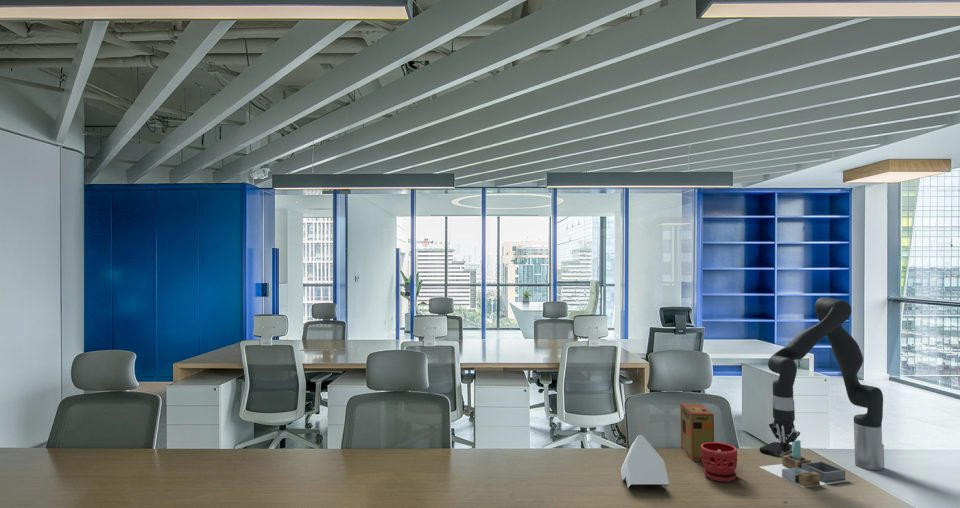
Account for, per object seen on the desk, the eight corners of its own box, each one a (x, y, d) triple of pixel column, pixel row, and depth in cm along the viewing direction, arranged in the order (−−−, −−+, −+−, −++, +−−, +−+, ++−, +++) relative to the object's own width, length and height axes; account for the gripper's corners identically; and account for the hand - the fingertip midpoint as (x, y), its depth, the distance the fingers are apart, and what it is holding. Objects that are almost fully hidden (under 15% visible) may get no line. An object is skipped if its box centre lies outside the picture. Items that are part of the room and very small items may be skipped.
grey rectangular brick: (798, 475, 197) (798, 467, 198) (812, 481, 192) (812, 473, 192) (781, 477, 195) (781, 469, 196) (795, 483, 190) (794, 475, 190)
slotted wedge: (660, 492, 193) (650, 444, 204) (669, 484, 184) (658, 434, 195) (624, 492, 193) (616, 444, 204) (631, 484, 184) (622, 434, 195)
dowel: (796, 466, 207) (795, 438, 207) (802, 468, 204) (802, 441, 204) (790, 466, 206) (790, 439, 206) (797, 469, 203) (796, 441, 203)
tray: (821, 470, 202) (821, 461, 203) (845, 480, 193) (845, 470, 193) (801, 472, 200) (801, 463, 200) (824, 482, 190) (824, 473, 190)
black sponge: (778, 460, 217) (778, 452, 217) (757, 455, 224) (757, 446, 224) (794, 453, 226) (794, 444, 227) (774, 447, 233) (774, 439, 233)
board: (800, 464, 212) (800, 461, 212) (848, 484, 192) (848, 481, 192) (758, 469, 206) (758, 466, 206) (803, 490, 186) (803, 487, 186)
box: (681, 447, 233) (680, 403, 233) (701, 448, 232) (700, 403, 233) (692, 460, 216) (691, 413, 217) (714, 461, 215) (713, 413, 216)
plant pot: (737, 474, 202) (736, 443, 202) (738, 486, 190) (737, 454, 190) (701, 468, 207) (700, 439, 208) (700, 480, 195) (700, 449, 196)
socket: (796, 463, 209) (795, 454, 209) (811, 470, 202) (811, 460, 203) (782, 465, 207) (782, 455, 207) (797, 472, 201) (797, 461, 201)
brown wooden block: (814, 482, 191) (813, 471, 191) (819, 484, 188) (819, 473, 189) (799, 484, 189) (799, 473, 189) (804, 486, 187) (804, 475, 187)
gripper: (805, 410, 195) (807, 456, 194) (777, 402, 207) (778, 445, 207) (790, 412, 193) (791, 458, 192) (762, 403, 205) (763, 447, 205)
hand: (784, 451), depth 200 cm, fingers closed
